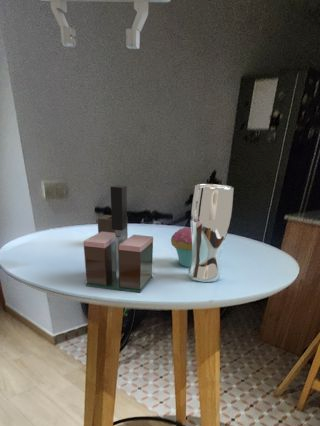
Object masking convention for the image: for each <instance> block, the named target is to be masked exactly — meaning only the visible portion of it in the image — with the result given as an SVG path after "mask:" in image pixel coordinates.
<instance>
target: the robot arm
mask: <svg viewBox="0 0 320 426" xmlns="http://www.w3.org/2000/svg"><path fill="white" fill-rule="evenodd" d="M40 1H41V2H50V9H51V11H52V13H53V17H54V18H55V20H56V22H57V24H58V27H60V40H61V44H62V46H64V47H65V48H76V47H77V40H76V37H77V34H76V33H77V32H76V29H74V28H73V27H71V26H69V23H68V21H67V19H66V16H65V13H67V12H68V5H67V2H103V3H105V2H106V3H108V2H110V3H111V2H112V3H133V9H134V10H135V11H136V14H135V17H134V21H133V22H132V25H131V28H128V27H127V28H125V37H126V38H125V47H126V48H127V49H129V50H140V43H141V42H140V41H141V40H140V39H141V36H140V35H141V32H142V29H143V27H144V26H145V23H146V21H147V18H148V16H149V3H170V2H172V1H171V0H40Z"/></svg>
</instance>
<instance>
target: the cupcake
mask: <svg viewBox="0 0 320 426" xmlns="http://www.w3.org/2000/svg"><path fill="white" fill-rule="evenodd" d="M170 243H171V246H172V247H173V248H175V250H176V254H177V258H178V263H179V265H180V266H182V267H185V268H190V265H191V260H192V240H191V226H184V227H182V228H179V229H177V230H176V231H175V232H174V233H173V234H172V235H171V238H170Z"/></svg>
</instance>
